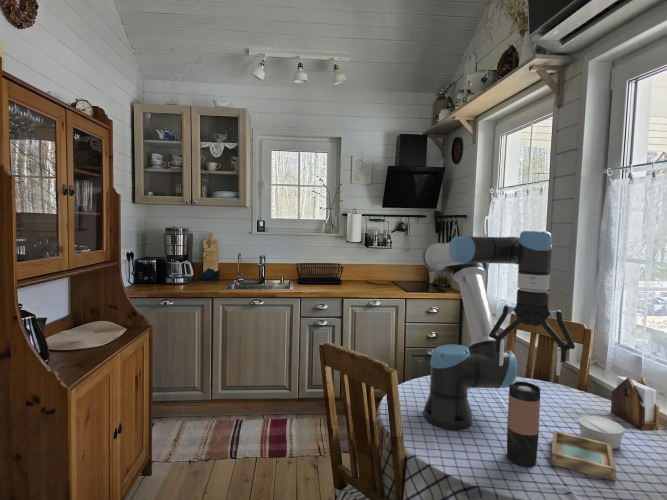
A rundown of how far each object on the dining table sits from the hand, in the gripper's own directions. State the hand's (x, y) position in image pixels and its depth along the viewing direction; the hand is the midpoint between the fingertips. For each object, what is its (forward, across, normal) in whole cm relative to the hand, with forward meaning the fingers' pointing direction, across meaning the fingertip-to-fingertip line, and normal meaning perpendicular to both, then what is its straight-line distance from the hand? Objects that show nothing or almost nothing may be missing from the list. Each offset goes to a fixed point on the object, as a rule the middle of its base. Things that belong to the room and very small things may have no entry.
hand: (528, 369), depth 108 cm
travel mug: (+25, -1, -1) cm, 25 cm away
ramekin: (+25, +19, +21) cm, 38 cm away
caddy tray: (+25, +14, +7) cm, 29 cm away
